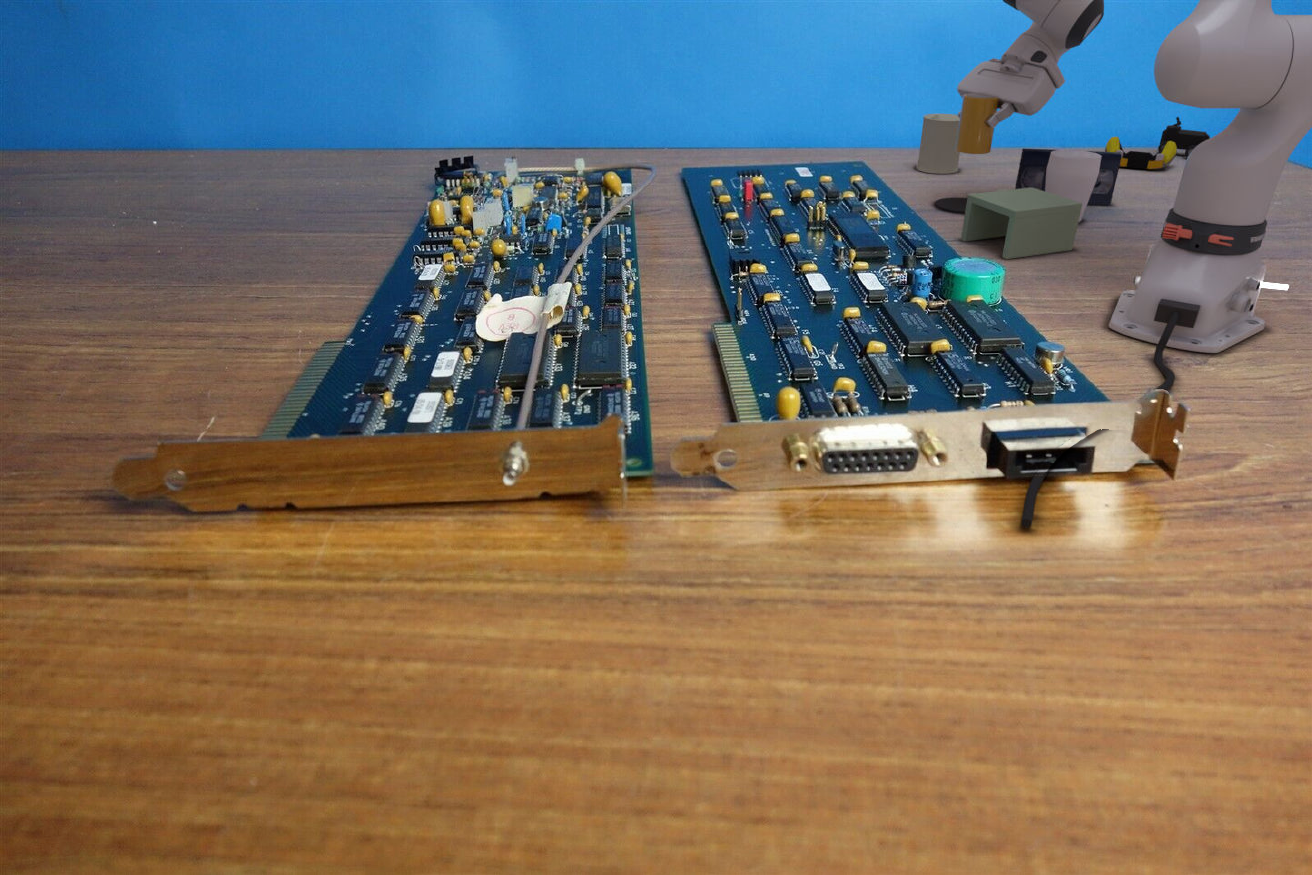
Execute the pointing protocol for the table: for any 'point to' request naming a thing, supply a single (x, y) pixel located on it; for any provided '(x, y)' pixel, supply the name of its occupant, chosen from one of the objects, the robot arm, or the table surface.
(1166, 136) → the toy vehicle
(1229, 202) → the robot arm
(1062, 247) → the shelf
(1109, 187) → the vhs cassette tape
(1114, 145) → the gaming controller
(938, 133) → the can
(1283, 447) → the table surface
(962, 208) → the mat
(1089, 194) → the cup
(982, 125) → the tumbler
